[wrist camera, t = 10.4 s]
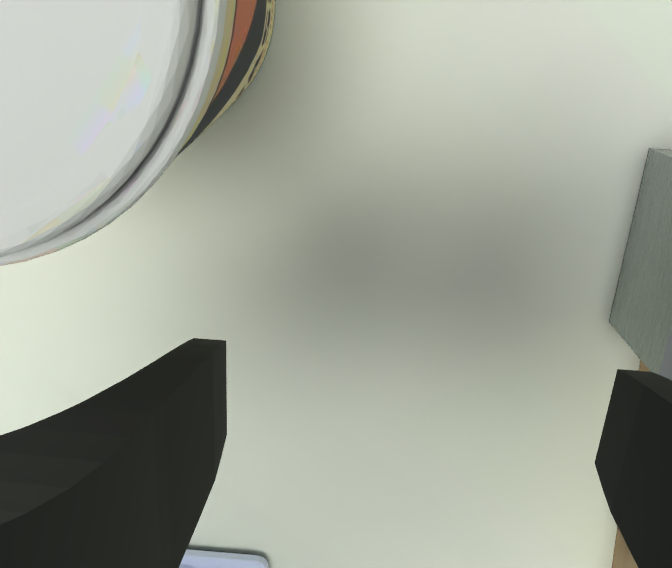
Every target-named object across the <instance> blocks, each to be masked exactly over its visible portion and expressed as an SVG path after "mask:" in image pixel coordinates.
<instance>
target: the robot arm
mask: <svg viewBox="0 0 672 568" xmlns="http://www.w3.org/2000/svg"><path fill="white" fill-rule="evenodd" d="M226 435H227V401H226V341H223V340H210V339H196V338H193V339H191V340H189V341H187V342H185V343H184V344H182V345H180V346H178V347H177V348H175V349H173V350H172V351H170V352H169V353H167V354H165V355H164V356H162V357H161V358H159V359H157V360H156V361H154V362H153V363H151V364H149V365H148V366H146V367H144V368H143V369H141V370H139V371H138V372H136V373H134V374H133V375H131V376H129V377H128V378H126V379H124V380H122V381H121V382H119V383H117V384H115V385H113V386H111V387H109V388H108V389H106V390H104V391H102V392H100V393H98V394H96V395H95V396H93V397H91V398H89V399H87V400H85V401H83V402H81V403H79V404H77V405H75V406H73V407H71V408H69V409H67V410H64V411H62V412H60V413H58V414H55V415H53V416H51V417H48V418H46V419H44V420H41V421H39V422H36V423H34V424H32V425H29V426H26V427H24V428H21V429H18V430H15V431H12V432H9V433H6V434H4V435H1V436H0V568H268V562H267V561H266V559H265V558H263V557H261V556H258V555H248V554H236V553H224V552H212V551H200V550H188V549H187V547H188V545H189V542H190V540H191V537H192V535H193V533H194V530H195V528H196V525H197V523H198V521H199V518H200V516H201V513H202V511H203V508H204V506H205V503H206V501H207V499H208V496H209V494H210V491H211V489H212V486H213V484H214V481H215V478H216V474H217V471H218V467H219V463H220V459H221V455H222V451H223V447H224V443H225V439H226ZM595 465H596V468H597V472H598V475H599V478H600V482H601V485H602V488H603V491H604V494H605V497H606V500H607V503H608V506H609V508H610V511H611V513H612V515H613V518H614V520H615V522H616V524H617V526H618V528H619V530H620V532H621V534H622V536H623V538H624V540H625V542H626V544H627V546H628V548H629V550H630V552H631V554H632V556H633V558H634V560H635V562H636V564H637V566H638V568H672V380H670V379H668V378H665V377H663V376H661V375H658V374H656V373H653V372H647V371H633V370H619V369H618V370H617V374H616V378H615V382H614V386H613V390H612V395H611V399H610V403H609V407H608V411H607V415H606V419H605V423H604V427H603V431H602V435H601V440H600V444H599V448H598V452H597V456H596V460H595Z"/></svg>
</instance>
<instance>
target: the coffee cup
mask: <svg viewBox="0 0 672 568" xmlns="http://www.w3.org/2000/svg"><path fill="white" fill-rule="evenodd" d="M274 15H275V0H0V266H2V265H7V264H13V263H18V262H24V261H28V260H31V259H34V258H37V257H40V256H43V255H47V254H50V253H53V252H56V251H59V250H61V249H63V248H65V247H68V246H70V245H72V244H74V243H76V242H79V241H81V240H83V239H85V238H87V237H88V236H90V235H92V234H93V233H95V232H97V231H98V230H100V229H102V228H103V227H105V226H107V225H108V224H110V223H111V222H112V221H114V220H115V219H116V218H117V217H119V216H120V215H121V214H123V213H124V212H125V211H126V210H128V209H129V208H130V207H132V206H133V205H134V204H135V203H136V202H137V201H138V200H139V199H140V198H141V197H142V196H143V195H144V194H145V193H146V192H147V191H148V190H149V189H150V188H151V187H152V186H153V184H154V183H155V182H156V181H157V180H158V178H159V177H160V176H161V175H162V173H163V172H164V171H165V170H166V168H167V167H168V166H169V164H170V163H171V162H172V161H173V159H174V158H175V157H176V156H177V155H179V154H180V153H181V152H182V151H183V150H184V149H185V148H186V147H187V146H188V145H190V144H191V143H192V142H193V141H194V140H195V139H196V138H197V137H198V136H199V135H201V134H202V133H203V132H204V131H205V130H206V129H207V128H208V127H209V126H210V125H211V124H212V123H213V122H215V121H216V120H217V119H218V118H219V117H220V116H221V115H222V114H223V113H224V112H225V111H226V110H227V109H228V108H229V107H230V106H231V105H232V104H233V103H234V102H235V101H236V100H237V99H238V98H239V97H240V96H241V94H242V93H243V92H244V91H245V89H246V88H247V87H248V86H249V84H250V83H251V82H252V80H253V79H254V77H255V75H256V74H257V72H258V70H259V68H260V66H261V64H262V62H263V60H264V58H265V55H266V52H267V50H268V47H269V43H270V40H271V36H272V30H273V24H274Z"/></svg>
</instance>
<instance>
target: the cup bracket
mask: <svg viewBox="0 0 672 568" xmlns="http://www.w3.org/2000/svg"><path fill="white" fill-rule="evenodd" d="M609 323H610V324H611V325H612V326H613V327H614V328H615V330H616V331H617V332H618V333H619V334H620V336H621V337H622V338H623V339H624V340H625V342H626V343H627V344H628V345H629V346H630V347H631V349H632V350H633V351H634V352H635V353H636V355H637V356H638V357H639V358H640V359H641V360H642V362H643V363H644V364H645V365H646V366H647V368H648V369H649V370H650V371H651V372H653V373H656V374H658V375H661V376H663V377H665V378H668V379H670V380H672V150H664V149H649V152H648V157H647V161H646V165H645V170H644V174H643V178H642V183H641V187H640V191H639V196H638V200H637V204H636V208H635V213H634V217H633V221H632V226H631V230H630V234H629V239H628V243H627V247H626V252H625V256H624V260H623V265H622V269H621V273H620V277H619V282H618V286H617V290H616V295H615V299H614V303H613V308H612V312H611V316H610V321H609Z"/></svg>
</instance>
